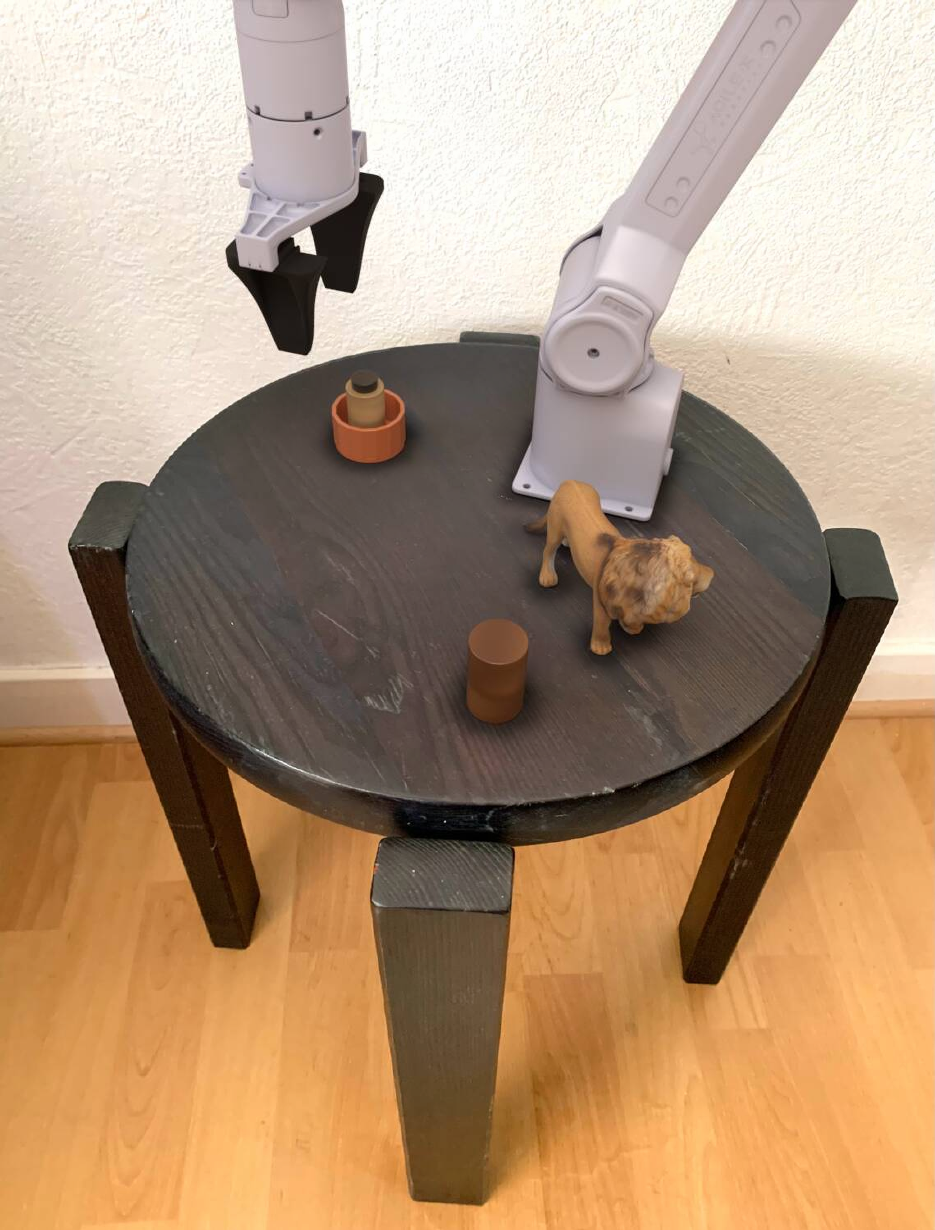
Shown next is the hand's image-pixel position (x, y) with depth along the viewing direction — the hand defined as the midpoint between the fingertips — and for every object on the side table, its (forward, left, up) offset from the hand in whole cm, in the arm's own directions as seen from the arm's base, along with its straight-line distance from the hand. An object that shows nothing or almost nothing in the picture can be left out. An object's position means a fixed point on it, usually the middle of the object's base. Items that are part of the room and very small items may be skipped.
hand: (318, 318), depth 67 cm
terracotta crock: (-3, 0, -9) cm, 10 cm away
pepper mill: (-3, 0, -9) cm, 9 cm away
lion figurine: (-22, +10, -10) cm, 26 cm away
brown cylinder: (-18, +19, -9) cm, 28 cm away
